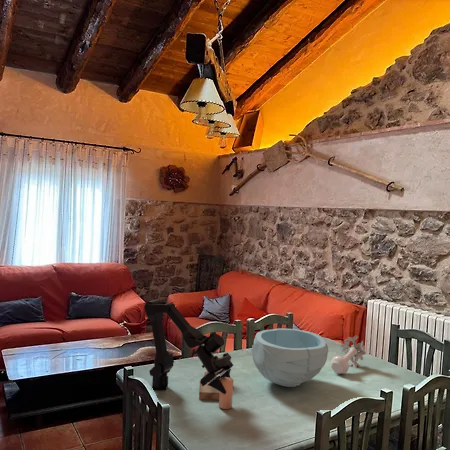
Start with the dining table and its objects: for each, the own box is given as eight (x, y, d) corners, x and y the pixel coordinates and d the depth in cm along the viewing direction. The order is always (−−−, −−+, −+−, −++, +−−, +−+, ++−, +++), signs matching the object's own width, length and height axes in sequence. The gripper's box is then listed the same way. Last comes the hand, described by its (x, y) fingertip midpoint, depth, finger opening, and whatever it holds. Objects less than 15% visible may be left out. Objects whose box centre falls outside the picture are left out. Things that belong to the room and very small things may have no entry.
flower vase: (345, 389, 219) (367, 365, 236) (349, 359, 212) (371, 337, 230) (322, 377, 227) (345, 355, 245) (326, 348, 221) (348, 327, 238)
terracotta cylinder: (218, 408, 176) (220, 382, 175) (218, 402, 181) (219, 376, 181) (232, 409, 176) (233, 382, 176) (231, 403, 182) (232, 377, 181)
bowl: (300, 367, 229) (302, 326, 228) (340, 395, 196) (343, 347, 195) (239, 373, 216) (241, 330, 215) (271, 404, 183) (274, 353, 183)
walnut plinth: (199, 399, 185) (199, 392, 185) (199, 387, 197) (199, 381, 197) (226, 399, 186) (227, 392, 186) (225, 388, 198) (225, 381, 198)
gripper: (208, 354, 171) (231, 388, 167) (230, 342, 188) (252, 373, 183) (190, 369, 176) (212, 403, 171) (214, 356, 192) (234, 387, 187)
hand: (229, 391), depth 178 cm, fingers closed on terracotta cylinder, 5 cm apart
